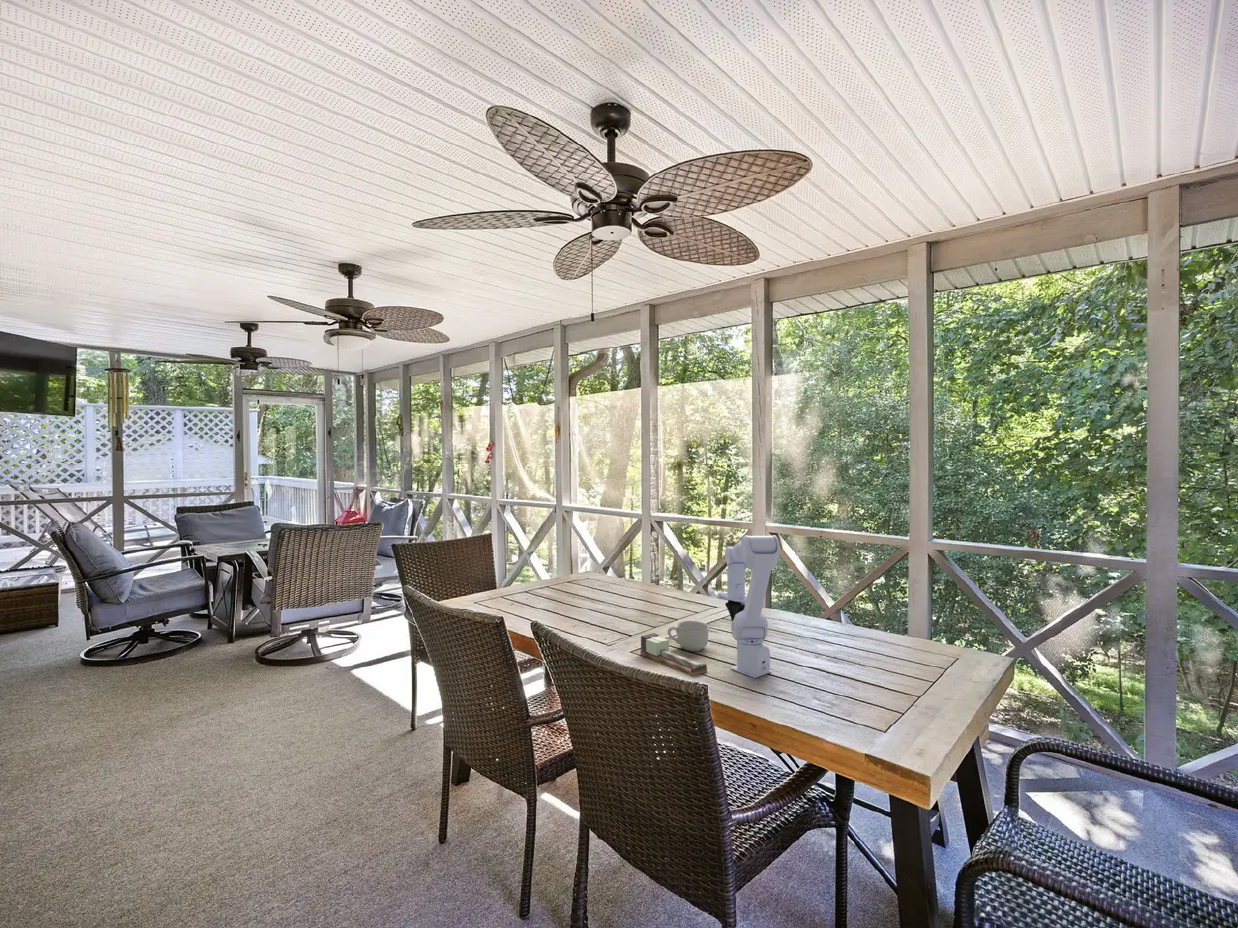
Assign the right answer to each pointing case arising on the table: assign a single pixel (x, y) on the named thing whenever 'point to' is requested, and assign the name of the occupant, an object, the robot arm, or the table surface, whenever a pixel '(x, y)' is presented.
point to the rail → (672, 664)
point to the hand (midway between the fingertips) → (735, 624)
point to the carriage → (656, 645)
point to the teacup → (691, 635)
